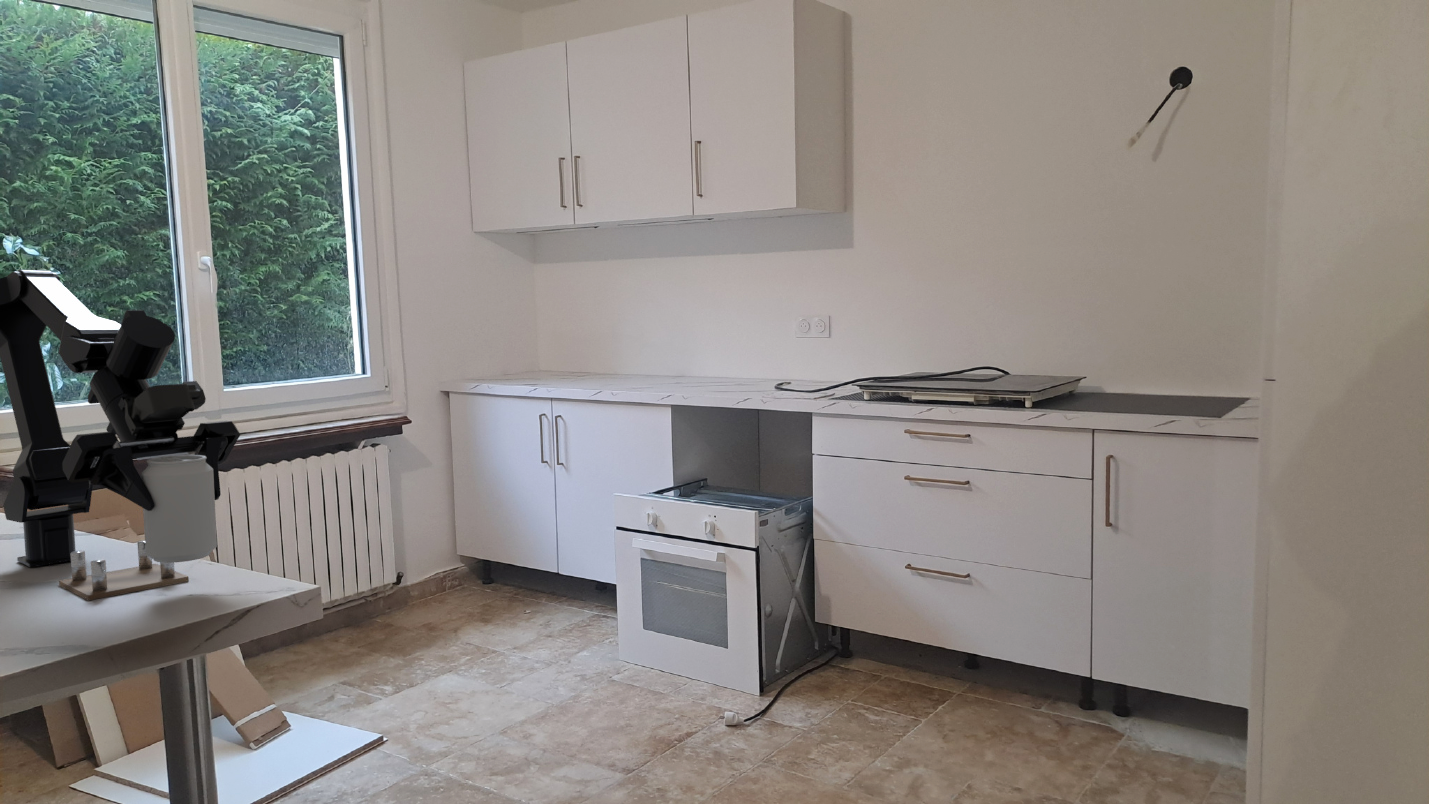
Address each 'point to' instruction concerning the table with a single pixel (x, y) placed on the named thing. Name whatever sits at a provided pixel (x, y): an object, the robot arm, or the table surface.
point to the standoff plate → (118, 576)
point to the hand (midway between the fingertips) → (185, 502)
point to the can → (180, 509)
